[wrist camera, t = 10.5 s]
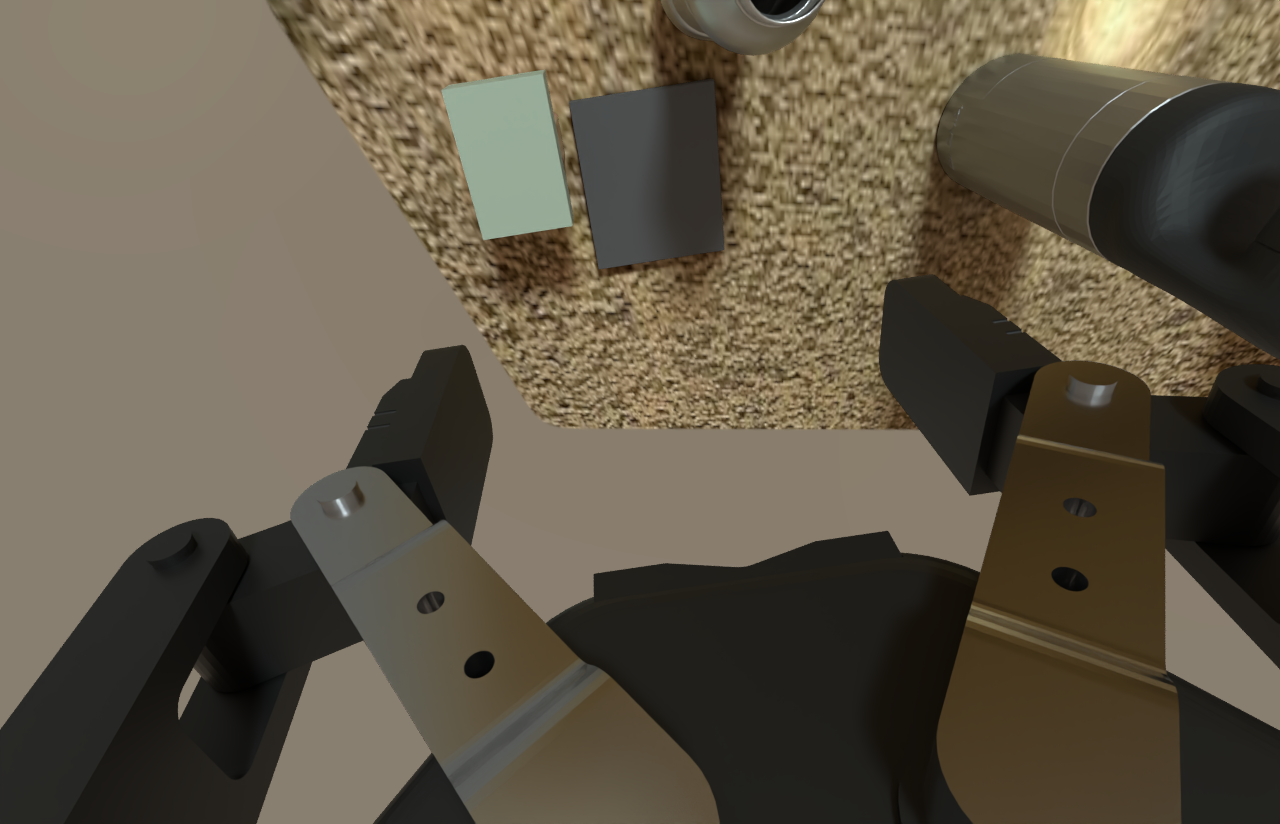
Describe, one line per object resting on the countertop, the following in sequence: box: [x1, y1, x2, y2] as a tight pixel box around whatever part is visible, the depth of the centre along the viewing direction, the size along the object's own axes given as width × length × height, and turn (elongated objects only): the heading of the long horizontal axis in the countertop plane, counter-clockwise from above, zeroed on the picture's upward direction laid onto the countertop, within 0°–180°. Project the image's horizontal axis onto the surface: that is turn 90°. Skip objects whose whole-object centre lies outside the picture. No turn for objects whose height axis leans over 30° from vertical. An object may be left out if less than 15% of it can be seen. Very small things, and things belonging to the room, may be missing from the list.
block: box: [441, 70, 573, 240], centre depth 40 cm, size 6×9×2 cm, turn 8°
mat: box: [569, 79, 724, 269], centre depth 47 cm, size 10×12×1 cm
